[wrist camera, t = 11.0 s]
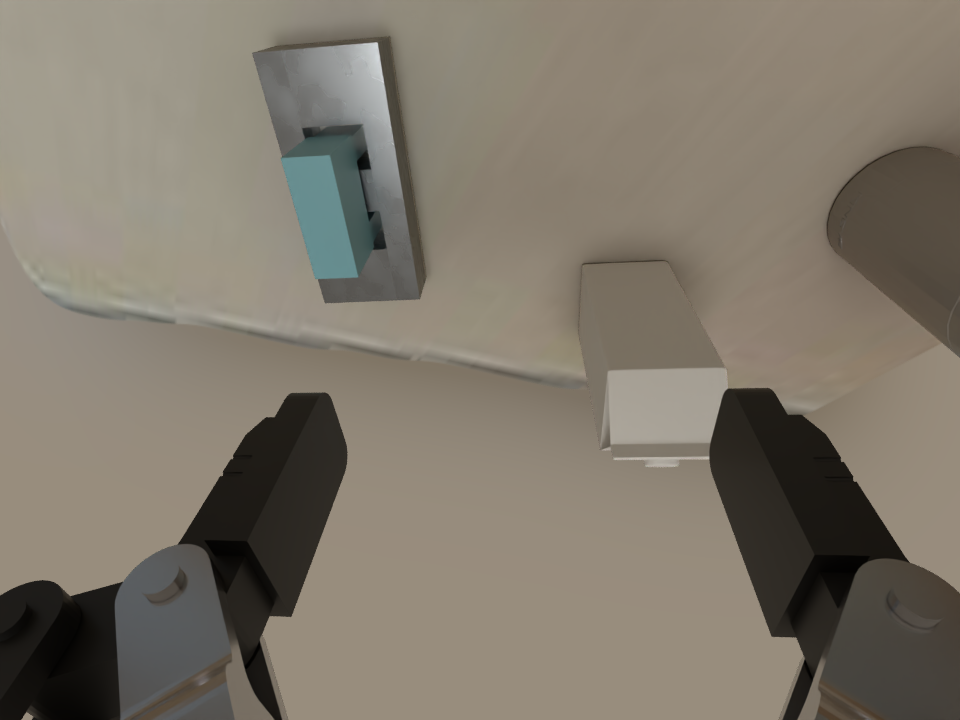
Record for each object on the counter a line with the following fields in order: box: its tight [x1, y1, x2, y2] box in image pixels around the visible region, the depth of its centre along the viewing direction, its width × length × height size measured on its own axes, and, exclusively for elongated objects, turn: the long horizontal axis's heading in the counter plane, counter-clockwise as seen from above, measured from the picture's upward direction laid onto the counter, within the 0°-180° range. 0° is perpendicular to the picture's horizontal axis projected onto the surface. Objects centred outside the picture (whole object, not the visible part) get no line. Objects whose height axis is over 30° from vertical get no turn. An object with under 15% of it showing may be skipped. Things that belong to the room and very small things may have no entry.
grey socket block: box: [252, 36, 426, 303], centre depth 39 cm, size 18×8×4 cm, turn 4°
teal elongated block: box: [281, 124, 382, 279], centre depth 36 cm, size 8×3×9 cm, turn 4°
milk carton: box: [579, 261, 728, 467], centre depth 38 cm, size 7×7×19 cm
